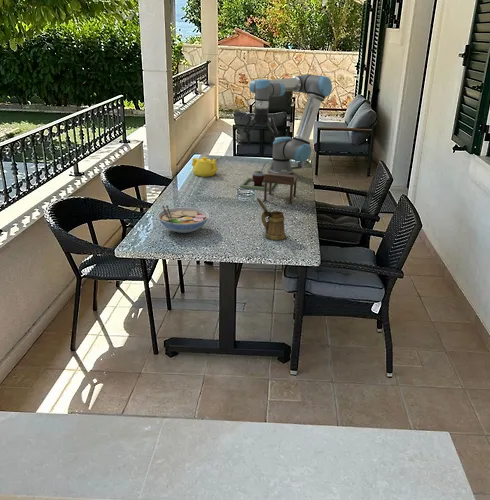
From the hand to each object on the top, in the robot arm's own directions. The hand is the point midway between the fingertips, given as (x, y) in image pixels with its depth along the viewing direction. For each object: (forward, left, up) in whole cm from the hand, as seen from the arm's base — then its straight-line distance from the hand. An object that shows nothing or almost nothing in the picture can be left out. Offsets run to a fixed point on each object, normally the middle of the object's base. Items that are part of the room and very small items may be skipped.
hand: (260, 145), depth 293 cm
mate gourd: (0, 0, -24) cm, 24 cm away
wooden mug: (+80, +23, -24) cm, 87 cm away
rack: (+22, +17, -24) cm, 36 cm away
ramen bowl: (+85, -16, -24) cm, 90 cm away
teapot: (-14, -37, -24) cm, 46 cm away
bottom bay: (0, 0, -24) cm, 24 cm away
